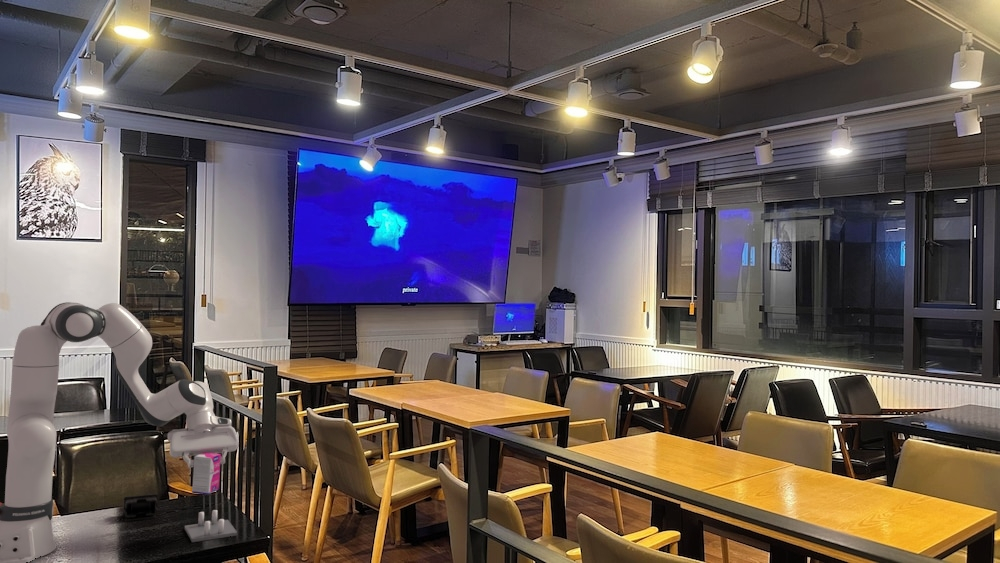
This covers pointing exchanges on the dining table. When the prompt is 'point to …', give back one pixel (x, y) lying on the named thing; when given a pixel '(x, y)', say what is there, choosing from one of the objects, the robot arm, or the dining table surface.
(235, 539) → the dining table surface
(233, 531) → the pin tray
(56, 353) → the robot arm
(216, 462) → the supplement box
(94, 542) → the dining table surface
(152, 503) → the end cap
